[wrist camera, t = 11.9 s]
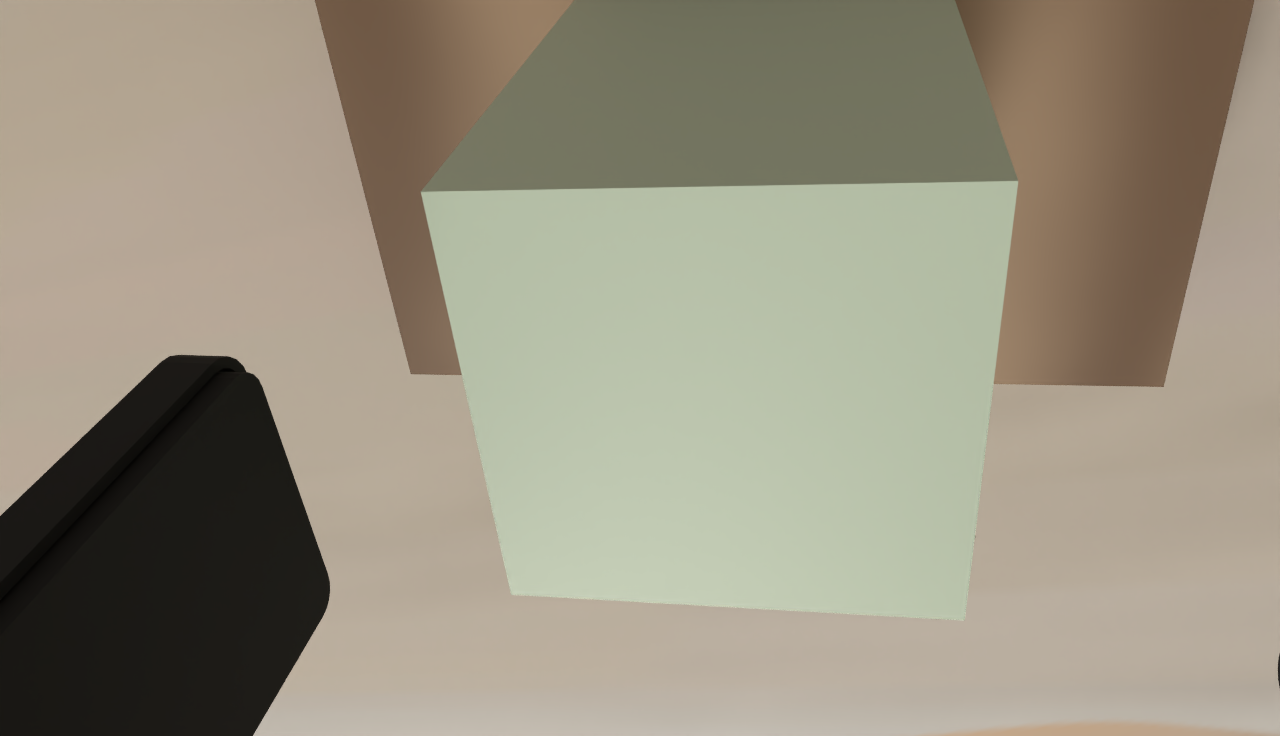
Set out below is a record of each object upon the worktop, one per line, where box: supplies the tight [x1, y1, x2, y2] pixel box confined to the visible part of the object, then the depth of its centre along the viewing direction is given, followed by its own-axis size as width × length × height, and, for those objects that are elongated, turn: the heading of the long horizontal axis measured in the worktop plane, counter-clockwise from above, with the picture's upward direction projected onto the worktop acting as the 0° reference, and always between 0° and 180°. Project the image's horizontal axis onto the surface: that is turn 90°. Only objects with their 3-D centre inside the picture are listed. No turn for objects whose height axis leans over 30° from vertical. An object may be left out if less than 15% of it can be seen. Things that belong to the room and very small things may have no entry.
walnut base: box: [315, 0, 1254, 387], centre depth 18 cm, size 14×10×4 cm
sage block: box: [421, 0, 1018, 620], centre depth 13 cm, size 5×5×8 cm
